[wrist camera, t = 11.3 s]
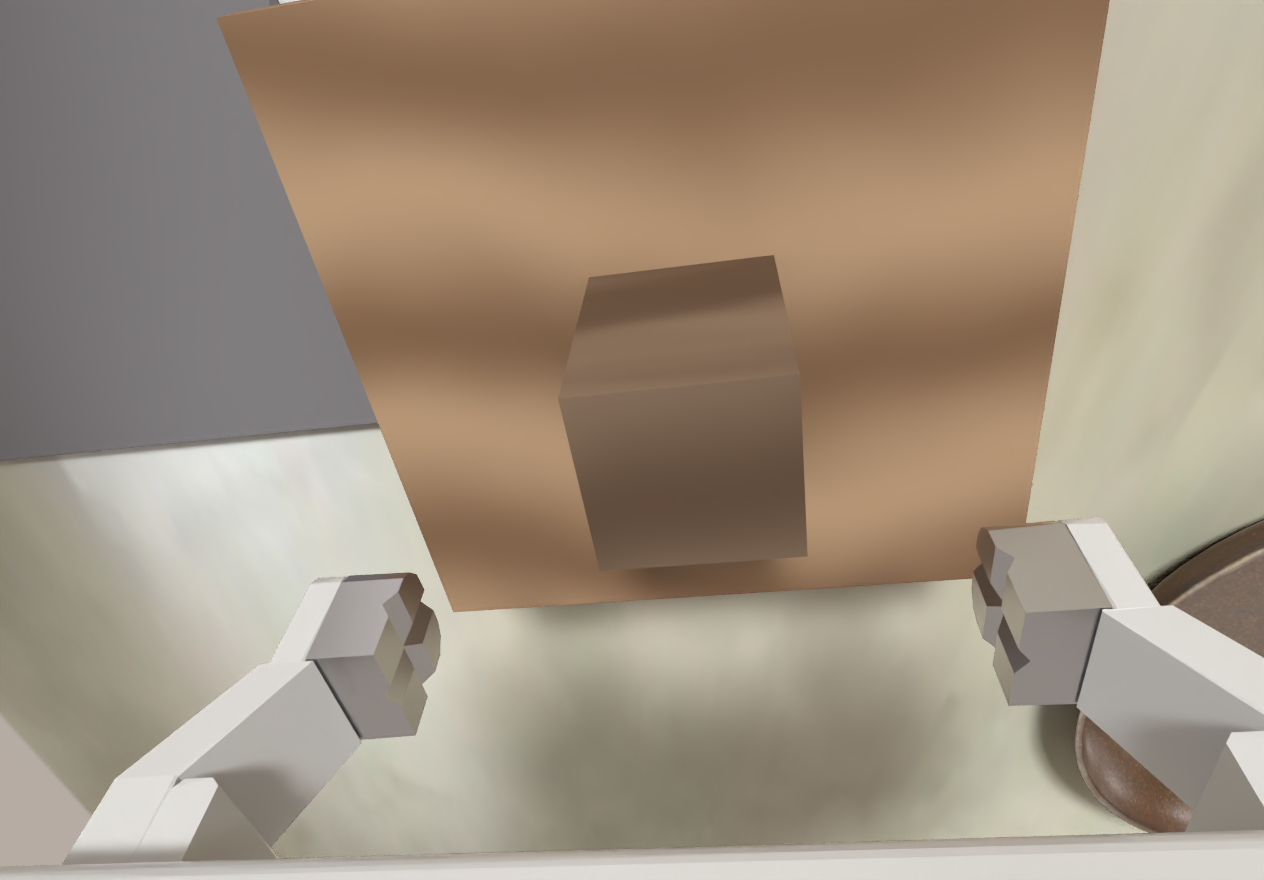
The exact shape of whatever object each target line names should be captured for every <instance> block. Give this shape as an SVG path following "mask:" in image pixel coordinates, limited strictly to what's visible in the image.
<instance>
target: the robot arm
mask: <svg viewBox="0 0 1264 880" xmlns="http://www.w3.org/2000/svg"><path fill="white" fill-rule="evenodd" d="M976 550H977V552H978V555H979V557H980V559H981V562H982V563H981V564H980V565H979V566H978V567H977V568H976V569H975V570H974V571H973V577H972V600H973V609H974V613H975V617H976V621H977V624H978V627H979V630H980V632H981V635H982V638H983V639H985V640H986V641H987V642H989V643H990V644H991V645H993V646H994V647H995V652H994V659H993V667H994V669H995V672H996V674H997V677H998V679H999V682H1000V685H1001V687H1002V690H1003V692H1004V695H1005V697H1006V700H1007V702H1008V705H1009V706H1015V705H1055V704H1077V708H1078V709H1079V710H1080V711H1081V712H1083V713H1084V714H1085V715H1086V716H1087V717H1088V718H1089V719H1091V720H1092V721H1093V722H1094V723H1095V724H1096V725H1097V726H1098V727H1100V728H1101V729H1102V730H1103V731H1104V732H1105V733H1106V734H1108V735H1109V736H1110V737H1111V738H1112V739H1113V740H1114V741H1115V742H1117V743H1118V744H1119V745H1120V746H1121V747H1122V748H1123V749H1124V750H1126V751H1127V752H1128V753H1129V754H1130V755H1131V756H1132V757H1134V758H1135V759H1136V760H1137V761H1138V762H1139V763H1140V764H1141V765H1143V766H1144V767H1145V768H1146V769H1147V770H1148V771H1149V772H1151V773H1152V774H1153V775H1154V776H1155V777H1156V778H1157V779H1158V780H1160V781H1161V782H1162V783H1163V784H1164V785H1165V786H1166V787H1167V788H1169V789H1170V790H1171V791H1172V792H1173V793H1174V794H1175V795H1177V796H1178V797H1179V798H1180V799H1181V800H1182V801H1183V802H1184V803H1186V804H1187V805H1188V806H1189V807H1190V808H1191V809H1192V810H1194V813H1193V815H1192V817H1191V819H1190V822H1189V824H1188V826H1187V828H1186V830H1185V832H1168V833H1134V834H1100V835H1065V836H1031V837H997V838H962V839H930V840H897V841H864V842H831V843H798V844H765V845H732V846H698V847H663V848H628V849H593V850H558V851H523V852H489V853H454V854H420V855H386V856H351V857H317V858H283V859H280V858H279V857H278V856H277V855H276V853H275V852H274V851H273V850H272V848H271V846H272V845H273V844H274V843H275V842H276V841H277V839H278V838H279V837H280V836H281V835H282V834H283V833H284V831H285V830H286V829H287V828H288V827H289V826H290V825H291V823H292V822H293V821H294V820H295V819H296V818H297V816H298V815H299V814H300V813H301V812H302V811H303V810H304V808H305V807H306V806H307V805H308V804H309V803H310V802H311V800H312V799H313V798H314V797H315V796H316V795H317V793H318V792H319V791H320V790H321V789H322V788H323V787H324V785H325V784H326V783H327V782H328V781H329V780H330V779H331V777H332V776H333V775H334V774H335V773H336V772H337V770H338V769H339V768H340V767H341V766H342V765H343V764H344V762H345V761H346V760H347V759H348V758H349V757H350V756H351V754H352V753H353V752H354V751H355V750H356V749H357V747H358V746H359V745H360V744H361V740H363V739H376V738H388V737H401V736H414V735H416V732H417V729H418V726H419V723H420V720H421V716H422V713H423V710H424V707H425V703H426V700H427V697H428V696H427V694H426V692H425V690H424V688H423V686H422V684H423V683H424V682H425V681H426V680H427V679H428V678H429V677H430V676H431V675H432V674H433V673H434V672H435V671H436V667H437V664H438V660H439V656H440V641H441V635H440V629H439V624H438V620H437V618H436V616H435V613H434V611H433V610H432V609H431V608H429V607H428V606H426V605H425V604H423V603H422V602H420V601H421V598H422V595H423V592H424V588H423V586H422V584H421V582H420V580H419V578H418V576H417V575H416V574H413V573H392V574H374V575H355V576H348V577H330V578H318V579H317V580H315V581H314V582H313V583H311V584H310V586H309V587H308V589H307V591H306V593H305V595H304V597H303V599H302V601H301V603H300V605H299V607H298V609H297V610H296V612H295V614H294V616H293V618H292V620H291V622H290V624H289V626H288V628H287V630H286V632H285V634H284V636H283V637H282V639H281V641H280V643H279V645H278V647H277V649H276V651H275V653H274V655H273V657H272V659H271V661H270V663H268V664H259V665H258V666H257V667H255V668H254V669H253V670H252V671H250V672H249V673H248V674H247V675H245V676H244V677H243V678H242V679H240V680H239V681H238V682H237V683H235V684H234V685H233V686H232V687H230V688H229V689H228V690H226V691H225V692H224V693H223V694H221V695H220V696H219V697H218V698H216V699H215V700H214V701H213V702H211V703H210V704H209V705H208V706H206V707H205V708H204V709H202V710H201V711H200V712H199V713H197V714H196V715H195V716H194V717H192V718H191V719H190V720H189V721H187V722H186V723H185V724H184V725H182V726H181V727H180V728H179V729H177V730H176V731H175V732H173V733H172V734H171V735H170V736H168V737H167V738H166V739H165V740H163V741H162V742H161V743H160V744H158V745H157V746H156V747H155V748H153V749H152V750H151V751H149V752H148V753H147V754H146V755H144V756H143V757H142V758H141V759H139V760H138V761H137V762H136V763H134V764H133V765H132V766H131V767H129V768H128V769H127V770H125V771H124V772H123V773H122V774H120V775H119V776H118V777H117V778H115V780H114V781H113V783H112V784H111V786H110V788H109V789H108V791H107V792H106V794H105V796H104V797H103V799H102V801H101V802H100V804H99V805H98V807H97V809H96V810H95V812H94V813H93V815H92V817H91V818H90V820H89V822H88V823H87V825H86V826H85V828H84V830H83V831H82V833H81V834H80V836H79V838H78V839H77V841H76V843H75V844H74V846H73V847H72V849H71V851H70V852H69V854H68V855H67V857H66V859H65V860H64V862H63V864H62V865H42V866H41V865H40V866H6V867H0V880H1264V658H1263V657H1261V656H1260V655H1258V654H1256V653H1255V652H1253V651H1251V650H1249V649H1248V648H1246V647H1244V646H1242V645H1241V644H1239V643H1237V642H1236V641H1234V640H1232V639H1230V638H1229V637H1227V636H1225V635H1223V634H1222V633H1220V632H1218V631H1216V630H1215V629H1213V628H1211V627H1210V626H1208V625H1206V624H1204V623H1203V622H1201V621H1199V620H1197V619H1196V618H1194V617H1192V616H1191V615H1189V614H1187V613H1185V612H1184V611H1182V610H1180V609H1178V608H1177V607H1175V606H1173V605H1171V606H1160V604H1159V603H1158V601H1157V600H1156V598H1155V596H1154V595H1153V593H1152V592H1151V590H1150V589H1149V587H1148V586H1147V584H1146V583H1145V581H1144V579H1143V578H1142V576H1141V575H1140V573H1139V572H1138V570H1137V569H1136V567H1135V566H1134V564H1133V563H1132V561H1131V559H1130V558H1129V556H1128V555H1127V553H1126V552H1125V550H1124V549H1123V547H1122V546H1121V544H1120V542H1119V541H1118V539H1117V538H1116V536H1115V535H1114V533H1113V532H1112V530H1111V529H1110V527H1109V526H1108V524H1107V522H1106V521H1105V520H1103V519H1101V518H1100V517H1088V518H1077V519H1066V520H1059V521H1046V522H1035V523H1023V524H1012V525H1001V526H989V527H981V529H980V531H979V533H978V537H977V544H976Z"/></svg>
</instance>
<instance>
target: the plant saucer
mask: <svg viewBox="0 0 1264 880" xmlns="http://www.w3.org/2000/svg"><path fill="white" fill-rule="evenodd" d="M1151 592H1152V593H1153V595H1154V596H1155V598H1156V600H1157V601H1158V603H1159V604H1160V606H1171V605H1173V606H1175V607H1177V608H1178V609H1180V610H1182V611H1184V612H1185V613H1187V614H1189V615H1191V616H1192V617H1194V618H1196V619H1197V620H1199V621H1201V622H1203V623H1204V624H1206V625H1208V626H1210V627H1211V628H1213V629H1215V630H1216V631H1218V632H1220V633H1222V634H1223V635H1225V636H1227V637H1229V638H1230V639H1232V640H1234V641H1236V642H1237V643H1239V644H1241V645H1242V646H1244V647H1246V648H1248V649H1249V650H1251V651H1253V652H1255V653H1256V654H1258V655H1260V656H1261V657H1263V658H1264V520H1263V521H1260V522H1258V523H1256V524H1254V525H1252V526H1250V527H1247V528H1245V529H1243V530H1241V531H1239V532H1237V533H1235V534H1233V535H1231V536H1230V537H1228V538H1226V539H1224V540H1222V541H1220V542H1218V543H1216V544H1215V545H1213V546H1211V547H1210V548H1208V549H1206V550H1205V551H1203V552H1202V553H1200V554H1199V555H1197V556H1195V557H1194V558H1192V559H1191V560H1189V561H1188V562H1186V563H1185V564H1183V565H1182V566H1181V567H1179V568H1178V569H1177V570H1175V571H1174V572H1173V573H1171V574H1170V575H1169V576H1168V577H1166V578H1165V579H1164V580H1162V581H1161V582H1160V583H1159V584H1158V585H1157V586H1156V587H1155V588H1154V589H1153V590H1152V591H1151ZM1075 755H1076V760H1077V764H1078V768H1079V771H1080V773H1081V776H1082V778H1083V780H1084V782H1085V783H1086V785H1087V787H1088V788H1089V790H1090V791H1091V792H1092V794H1093V795H1094V796H1095V797H1096V799H1097V800H1098V801H1099V802H1100V803H1101V804H1102V805H1104V806H1105V807H1106V808H1107V809H1108V810H1109V811H1110V812H1112V813H1113V814H1115V815H1116V816H1118V817H1119V818H1121V819H1122V820H1124V821H1126V822H1127V823H1129V824H1131V825H1133V826H1135V827H1137V828H1139V829H1141V830H1143V831H1146V832H1148V833H1168V832H1185V830H1186V828H1187V826H1188V824H1189V822H1190V819H1191V817H1192V815H1193V813H1194V810H1192V809H1191V808H1190V807H1189V806H1188V805H1187V804H1186V803H1184V802H1183V801H1182V800H1181V799H1180V798H1179V797H1178V796H1177V795H1175V794H1174V793H1173V792H1172V791H1171V790H1170V789H1169V788H1167V787H1166V786H1165V785H1164V784H1163V783H1162V782H1161V781H1160V780H1158V779H1157V778H1156V777H1155V776H1154V775H1153V774H1152V773H1151V772H1149V771H1148V770H1147V769H1146V768H1145V767H1144V766H1143V765H1141V764H1140V763H1139V762H1138V761H1137V760H1136V759H1135V758H1134V757H1132V756H1131V755H1130V754H1129V753H1128V752H1127V751H1126V750H1124V749H1123V748H1122V747H1121V746H1120V745H1119V744H1118V743H1117V742H1115V741H1114V740H1113V739H1112V738H1111V737H1110V736H1109V735H1108V734H1106V733H1105V732H1104V731H1103V730H1102V729H1101V728H1100V727H1098V726H1097V725H1096V724H1095V723H1094V722H1093V721H1092V720H1091V719H1089V718H1088V717H1087V716H1086V715H1085V714H1084V713H1083V712H1081V711H1080V710H1079V712H1078V718H1077V725H1076V733H1075Z"/></svg>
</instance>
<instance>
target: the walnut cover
mask: <svg viewBox="0 0 1264 880" xmlns="http://www.w3.org/2000/svg"><path fill="white" fill-rule="evenodd" d="M1109 1H1110V0H300V1H294V2H289V3H283V4H278V5H272V6H266V7H261V8H255V9H250V10H244V11H238V12H234V13H231V14H227V15H224V16H220V17H217V21H218V23H219V26H220V28H221V31H222V33H223V36H224V39H225V41H226V44H227V46H228V49H229V51H230V54H231V56H232V59H233V61H234V64H235V66H236V69H237V71H238V74H239V76H240V79H241V81H242V84H243V86H244V89H245V91H246V94H247V96H248V99H249V101H250V104H251V106H252V109H253V111H254V114H255V116H256V119H257V121H258V124H259V126H260V129H261V131H262V134H263V136H264V139H265V141H266V144H267V146H268V149H269V151H270V154H271V156H272V159H273V161H274V164H275V166H276V169H277V171H278V174H279V176H280V179H281V181H282V184H283V186H284V189H285V191H286V194H287V196H288V199H289V201H290V204H291V206H292V209H293V211H294V214H295V216H296V219H297V221H298V224H299V226H300V229H301V231H302V234H303V236H304V239H305V241H306V244H307V246H308V249H309V251H310V254H311V256H312V259H313V261H314V264H315V267H316V269H317V272H318V274H319V277H320V279H321V282H322V284H323V287H324V289H325V292H326V294H327V297H328V299H329V302H330V304H331V307H332V309H333V312H334V314H335V317H336V319H337V322H338V324H339V327H340V329H341V332H342V334H343V337H344V339H345V342H346V344H347V347H348V349H349V352H350V354H351V357H352V359H353V362H354V364H355V367H356V369H357V372H358V374H359V377H360V379H361V382H362V384H363V387H364V389H365V392H366V394H367V397H368V399H369V402H370V404H371V407H372V409H373V412H374V414H375V417H376V419H377V422H378V424H379V427H380V429H381V432H382V434H383V437H384V439H385V442H386V444H387V447H388V449H389V452H390V454H391V457H392V459H393V462H394V464H395V467H396V469H397V472H398V474H399V477H400V479H401V482H402V484H403V487H404V490H405V492H406V495H407V497H408V500H409V502H410V505H411V507H412V510H413V512H414V515H415V517H416V520H417V522H418V525H419V527H420V530H421V532H422V535H423V537H424V540H425V542H426V545H427V547H428V550H429V552H430V555H431V557H432V560H433V562H434V565H435V567H436V570H437V572H438V575H439V577H440V580H441V582H442V585H443V587H444V590H445V592H446V595H447V597H448V600H449V602H450V605H451V607H452V610H453V612H463V611H479V610H494V609H510V608H525V607H540V606H556V605H571V604H587V603H602V602H617V601H633V600H648V599H664V598H679V597H694V596H710V595H725V594H741V593H756V592H772V591H787V590H802V589H818V588H833V587H849V586H864V585H879V584H895V583H910V582H926V581H941V580H957V579H972V577H973V571H974V570H975V569H976V568H977V567H978V566H979V565H980V564H981V563H982V562H981V559H980V557H979V555H978V552H977V550H976V544H977V537H978V533H979V531H980V529H981V527H989V526H1001V525H1012V524H1023V523H1026V518H1027V511H1028V505H1029V499H1030V493H1031V486H1032V480H1033V474H1034V468H1035V462H1036V455H1037V449H1038V443H1039V437H1040V430H1041V424H1042V418H1043V412H1044V406H1045V399H1046V393H1047V387H1048V381H1049V374H1050V368H1051V362H1052V356H1053V349H1054V343H1055V337H1056V331H1057V325H1058V318H1059V312H1060V306H1061V300H1062V293H1063V287H1064V281H1065V275H1066V269H1067V262H1068V256H1069V250H1070V244H1071V237H1072V231H1073V225H1074V219H1075V213H1076V206H1077V200H1078V194H1079V188H1080V181H1081V175H1082V169H1083V163H1084V157H1085V150H1086V144H1087V138H1088V132H1089V125H1090V119H1091V113H1092V107H1093V100H1094V94H1095V88H1096V82H1097V76H1098V69H1099V63H1100V57H1101V51H1102V44H1103V38H1104V32H1105V26H1106V20H1107V13H1108V7H1109Z"/></svg>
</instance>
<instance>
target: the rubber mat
mask: <svg viewBox="0 0 1264 880" xmlns="http://www.w3.org/2000/svg"><path fill="white" fill-rule="evenodd" d="M278 4H279V3H278V0H0V461H1V460H11V459H21V458H31V457H41V456H51V455H61V454H71V453H81V452H91V451H101V450H111V449H121V448H131V447H141V446H151V445H161V444H171V443H181V442H191V441H201V440H211V439H221V438H231V437H241V436H251V435H261V434H271V433H281V432H291V431H301V430H311V429H321V428H331V427H341V426H351V425H361V424H371V423H378V422H377V419H376V417H375V414H374V412H373V409H372V407H371V404H370V402H369V399H368V397H367V394H366V392H365V389H364V387H363V384H362V382H361V379H360V377H359V374H358V372H357V369H356V367H355V364H354V362H353V359H352V357H351V354H350V352H349V349H348V347H347V344H346V342H345V339H344V337H343V334H342V332H341V329H340V327H339V324H338V322H337V319H336V317H335V314H334V312H333V309H332V307H331V304H330V302H329V299H328V297H327V294H326V292H325V289H324V287H323V284H322V282H321V279H320V277H319V274H318V272H317V269H316V267H315V264H314V261H313V259H312V256H311V254H310V251H309V249H308V246H307V244H306V241H305V239H304V236H303V234H302V231H301V229H300V226H299V224H298V221H297V219H296V216H295V214H294V211H293V209H292V206H291V204H290V201H289V199H288V196H287V194H286V191H285V189H284V186H283V184H282V181H281V179H280V176H279V174H278V171H277V169H276V166H275V164H274V161H273V159H272V156H271V154H270V151H269V149H268V146H267V144H266V141H265V139H264V136H263V134H262V131H261V129H260V126H259V124H258V121H257V119H256V116H255V114H254V111H253V109H252V106H251V104H250V101H249V99H248V96H247V94H246V91H245V89H244V86H243V84H242V81H241V79H240V76H239V74H238V71H237V69H236V66H235V64H234V61H233V59H232V56H231V54H230V51H229V49H228V46H227V44H226V41H225V39H224V36H223V33H222V31H221V28H220V26H219V23H218V21H217V17H220V16H224V15H227V14H231V13H234V12H238V11H244V10H250V9H255V8H261V7H266V6H272V5H278Z"/></svg>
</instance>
